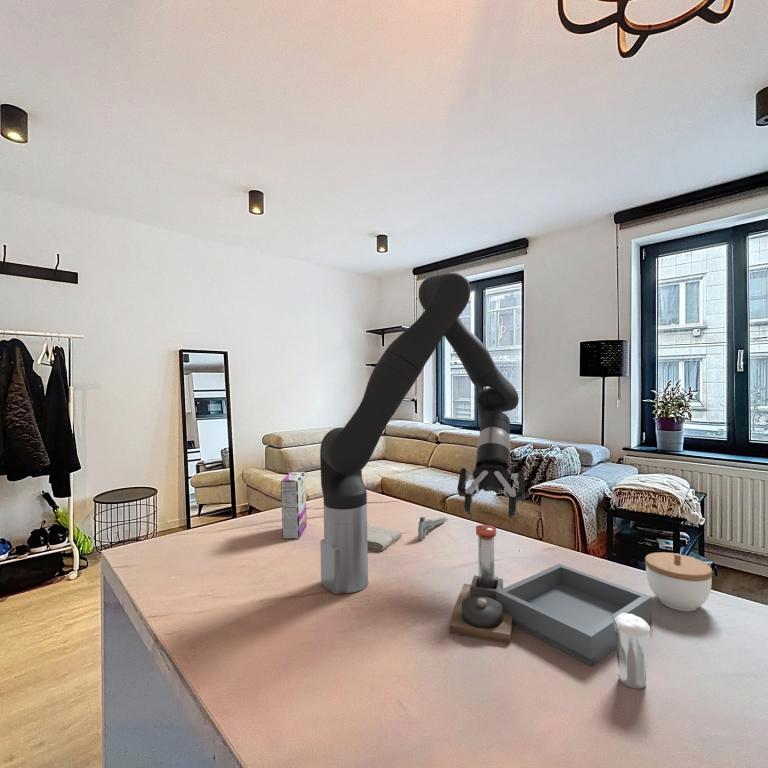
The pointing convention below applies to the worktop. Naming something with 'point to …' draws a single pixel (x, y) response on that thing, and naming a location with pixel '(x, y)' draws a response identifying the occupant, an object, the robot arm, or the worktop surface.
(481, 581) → the pin
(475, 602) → the wooden stand
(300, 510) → the candy bar box
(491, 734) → the worktop surface
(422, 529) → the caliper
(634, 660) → the milkshake
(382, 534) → the washcloth
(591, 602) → the tray
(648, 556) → the lidded jar
